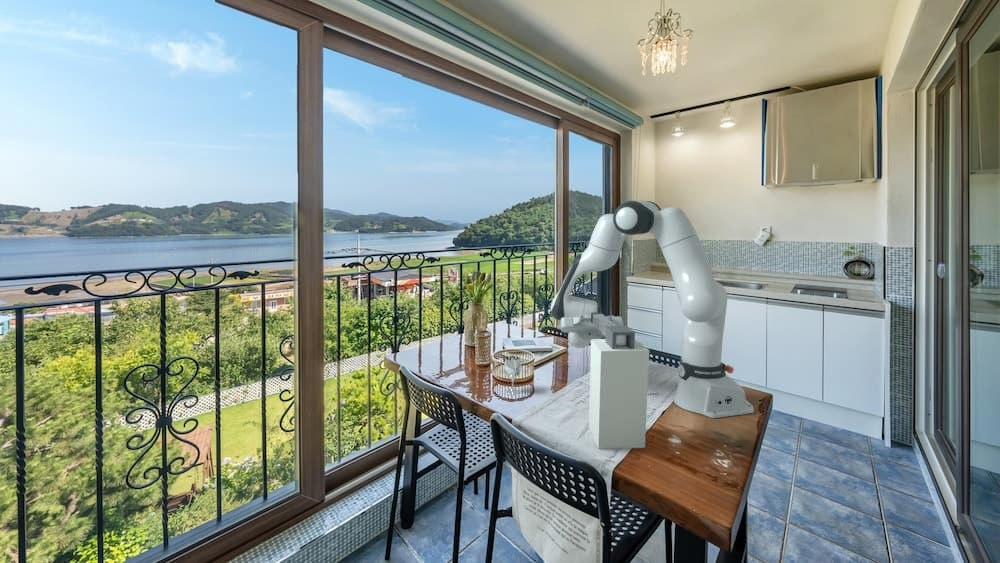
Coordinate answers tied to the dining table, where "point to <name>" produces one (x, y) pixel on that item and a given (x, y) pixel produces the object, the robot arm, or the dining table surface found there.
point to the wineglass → (512, 370)
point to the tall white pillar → (618, 390)
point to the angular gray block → (601, 324)
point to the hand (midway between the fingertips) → (596, 317)
